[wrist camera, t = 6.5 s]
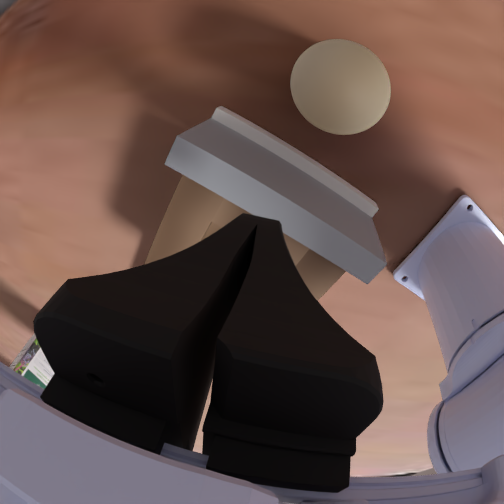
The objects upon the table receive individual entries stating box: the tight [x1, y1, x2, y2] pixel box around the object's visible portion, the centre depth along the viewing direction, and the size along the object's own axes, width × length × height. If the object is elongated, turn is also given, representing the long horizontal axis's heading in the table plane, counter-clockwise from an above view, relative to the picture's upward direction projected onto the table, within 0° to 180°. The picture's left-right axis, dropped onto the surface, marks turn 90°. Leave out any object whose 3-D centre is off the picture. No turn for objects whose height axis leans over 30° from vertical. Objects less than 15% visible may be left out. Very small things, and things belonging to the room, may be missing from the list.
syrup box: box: [9, 333, 55, 389], centre depth 29 cm, size 6×6×14 cm
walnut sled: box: [144, 175, 346, 301], centre depth 19 cm, size 10×9×4 cm
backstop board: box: [165, 106, 387, 284], centre depth 21 cm, size 11×20×6 cm, turn 151°
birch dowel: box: [290, 39, 391, 135], centre depth 12 cm, size 4×4×7 cm
